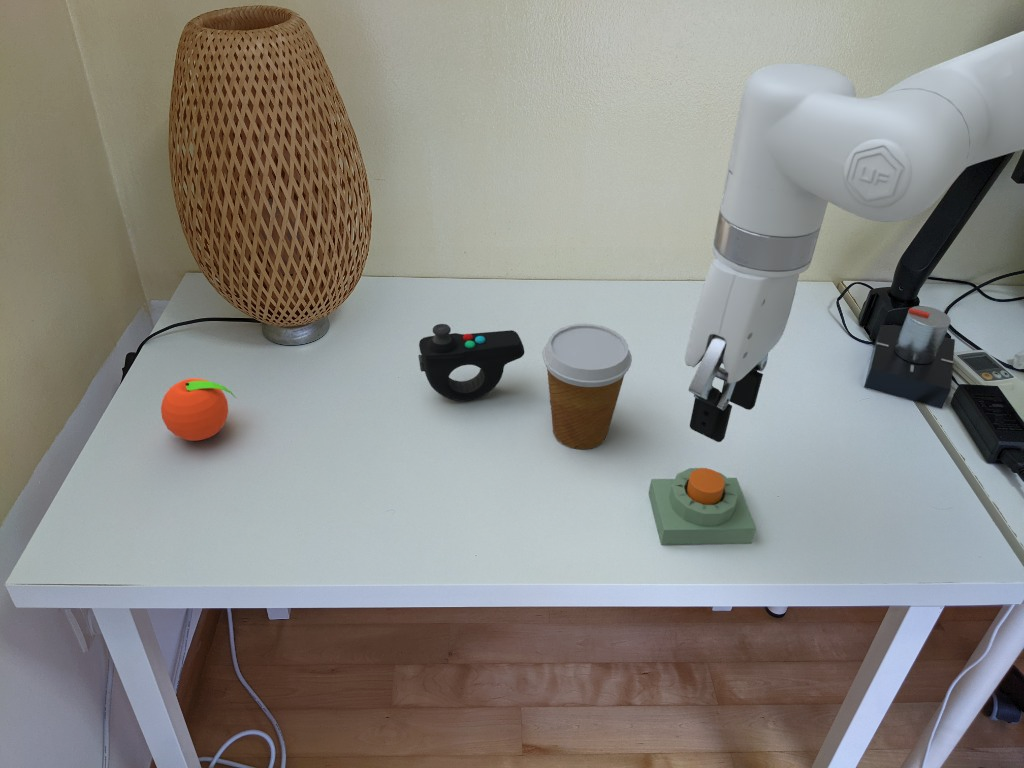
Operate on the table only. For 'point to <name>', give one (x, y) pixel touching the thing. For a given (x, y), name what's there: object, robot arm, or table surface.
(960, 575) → the table surface
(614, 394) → the disposable coffee cup
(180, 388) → the clementine
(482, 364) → the controller
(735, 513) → the box
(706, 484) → the button
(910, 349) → the dial
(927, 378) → the dial panel
